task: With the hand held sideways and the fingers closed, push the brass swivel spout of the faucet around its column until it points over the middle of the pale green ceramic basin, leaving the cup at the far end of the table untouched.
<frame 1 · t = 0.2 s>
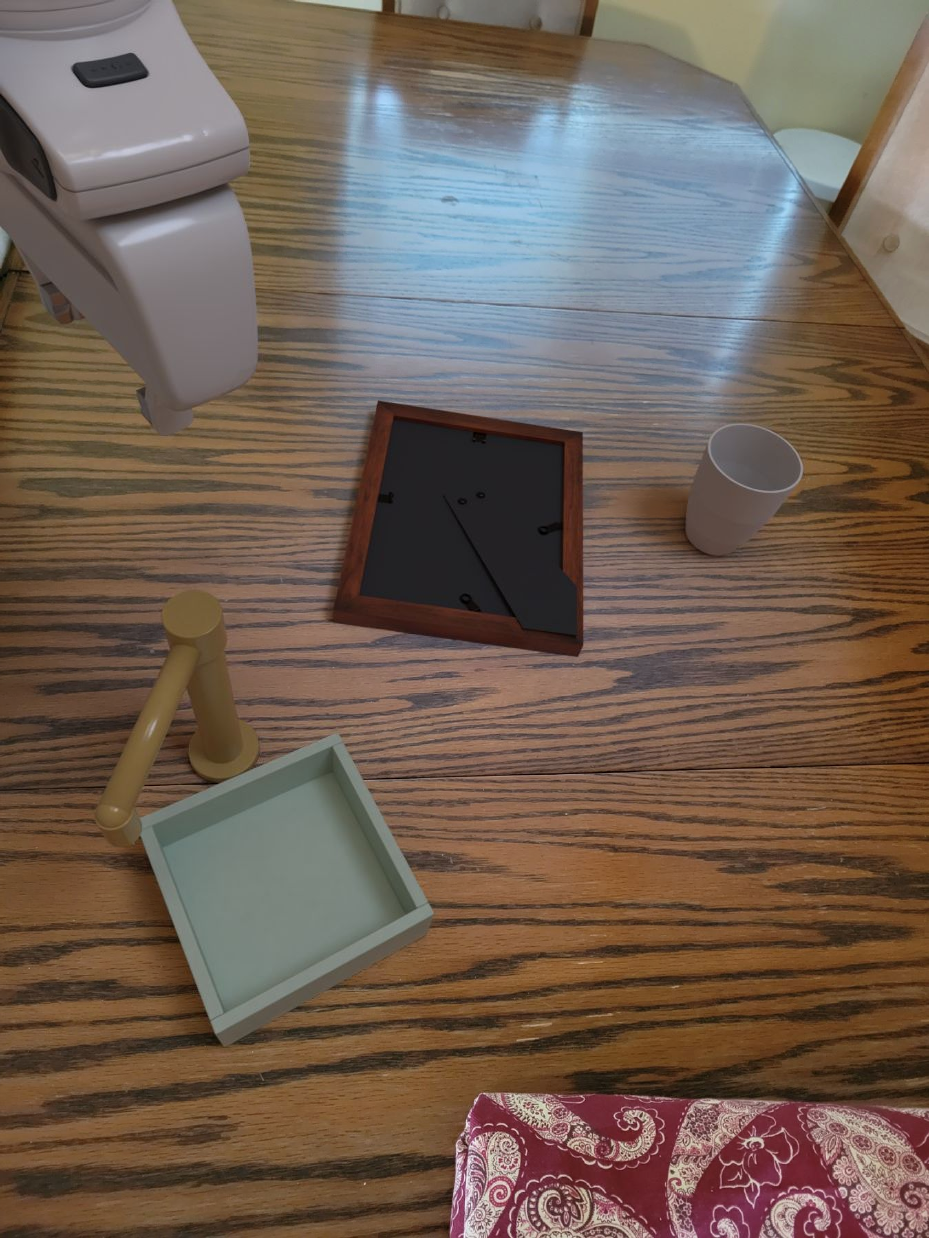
hand: (116, 366, 40), 28 cm above the table, tool pointing down, fingers open, 8 cm apart
cup: (710, 536, 78), on the table
spout: (161, 711, 44), point 15 cm above the table, hinge at -40.0°
faucet base: (224, 751, 59), on the table
picture frame: (468, 526, 75), on the table
sink: (286, 889, 54), on the table
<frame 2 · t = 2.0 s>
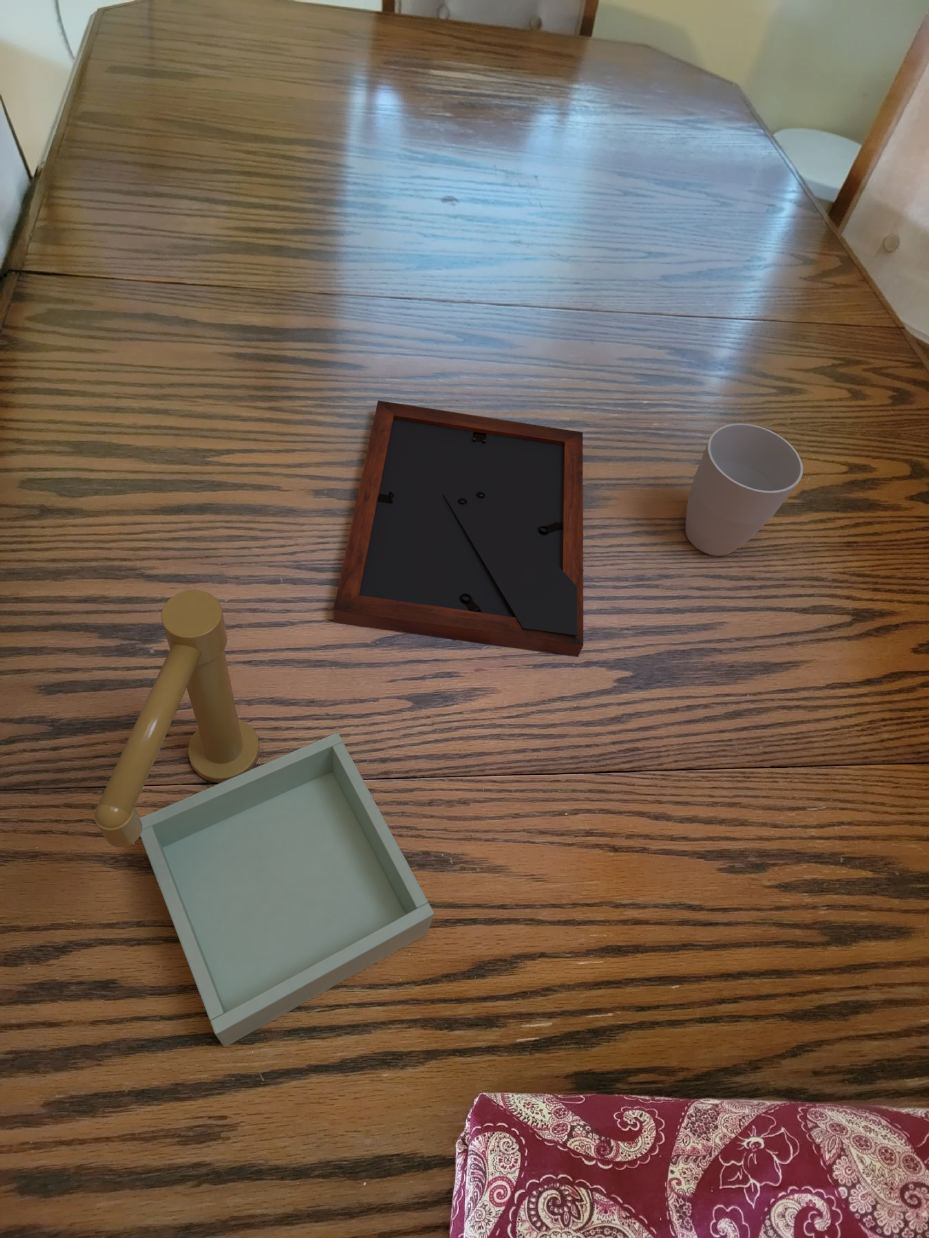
nothing on the table moved.
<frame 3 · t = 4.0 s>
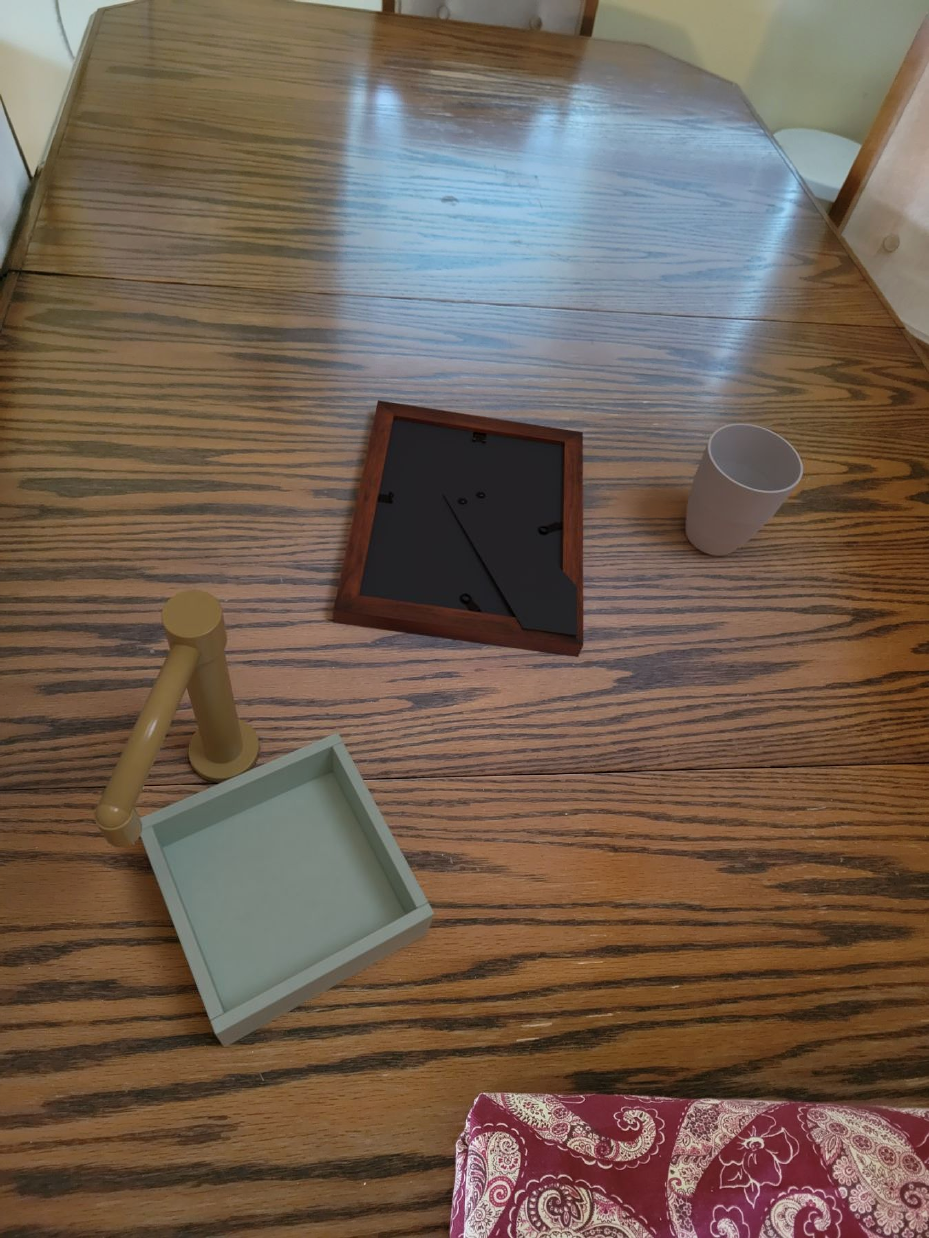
nothing on the table moved.
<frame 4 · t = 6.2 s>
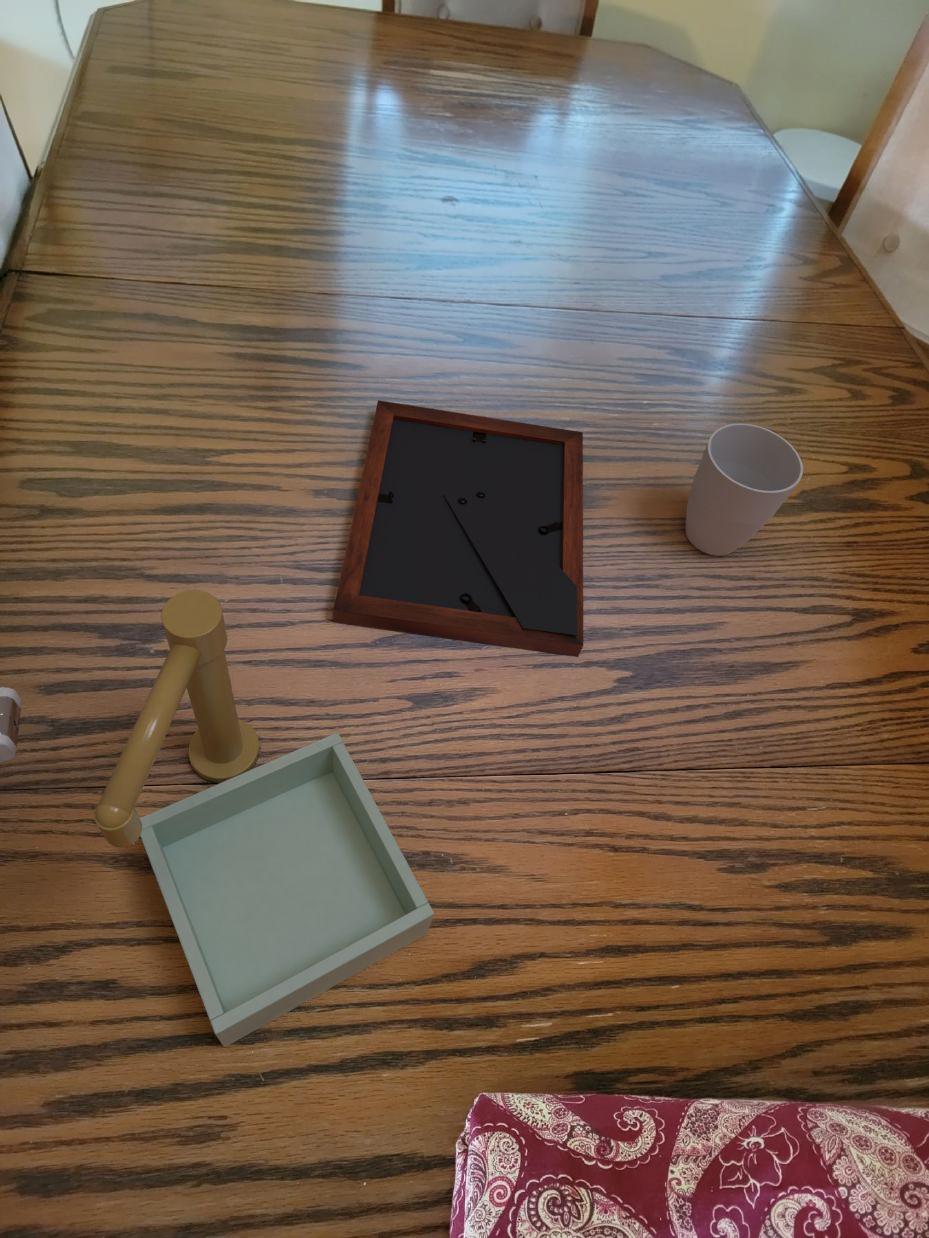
hand: (15, 722, 38), 19 cm above the table, tool horizontal, fingers closed
nothing on the table moved.
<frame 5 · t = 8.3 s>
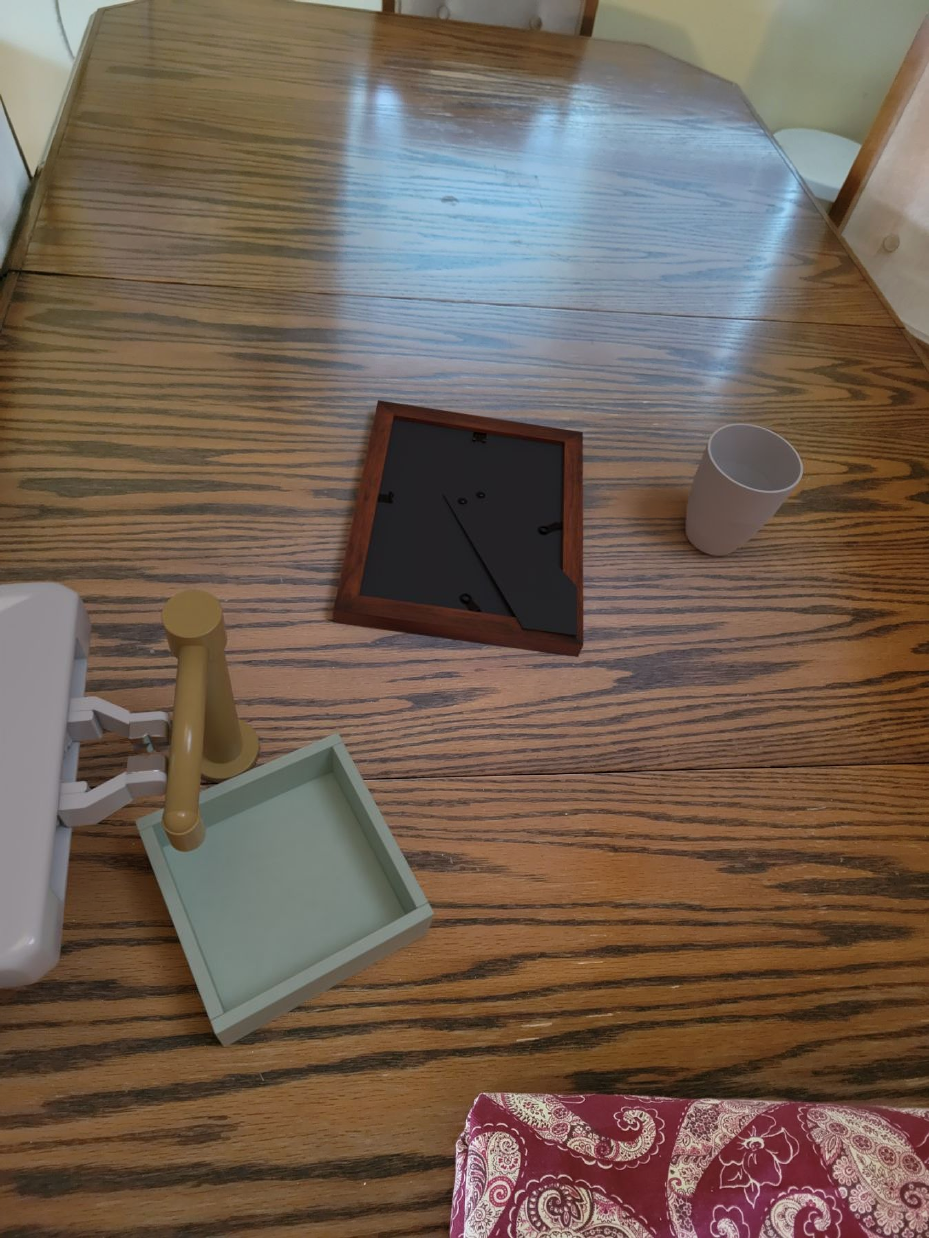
hand: (168, 751, 42), 16 cm above the table, tool horizontal, fingers closed, pressing on spout
spout: (190, 714, 44), point 15 cm above the table, hinge at -23.4°, touching gripper
everything else where it was.
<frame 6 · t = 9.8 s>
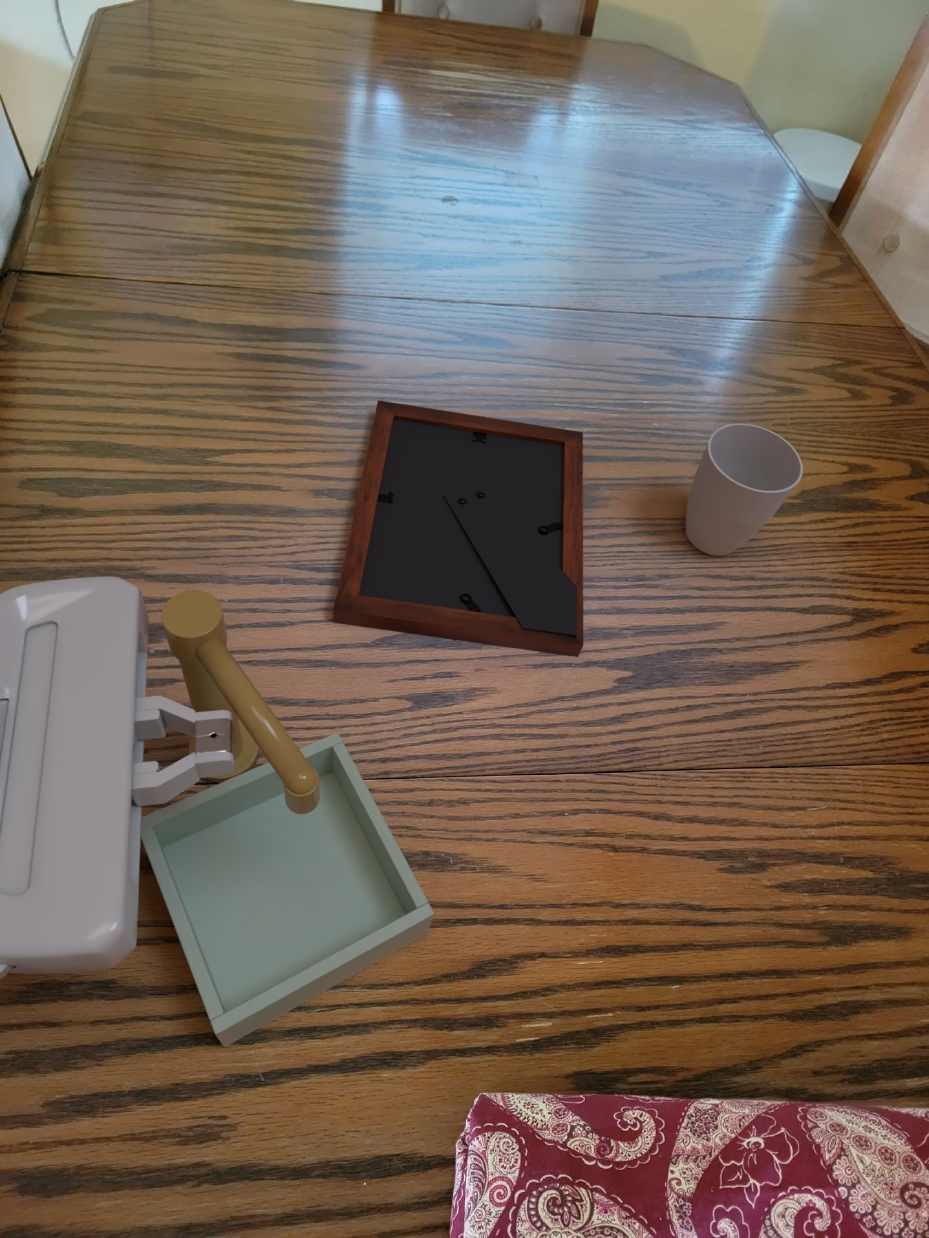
hand: (233, 741, 43), 15 cm above the table, tool horizontal, fingers closed
spout: (243, 699, 45), point 15 cm above the table, hinge at 8.0°
everything else where it was.
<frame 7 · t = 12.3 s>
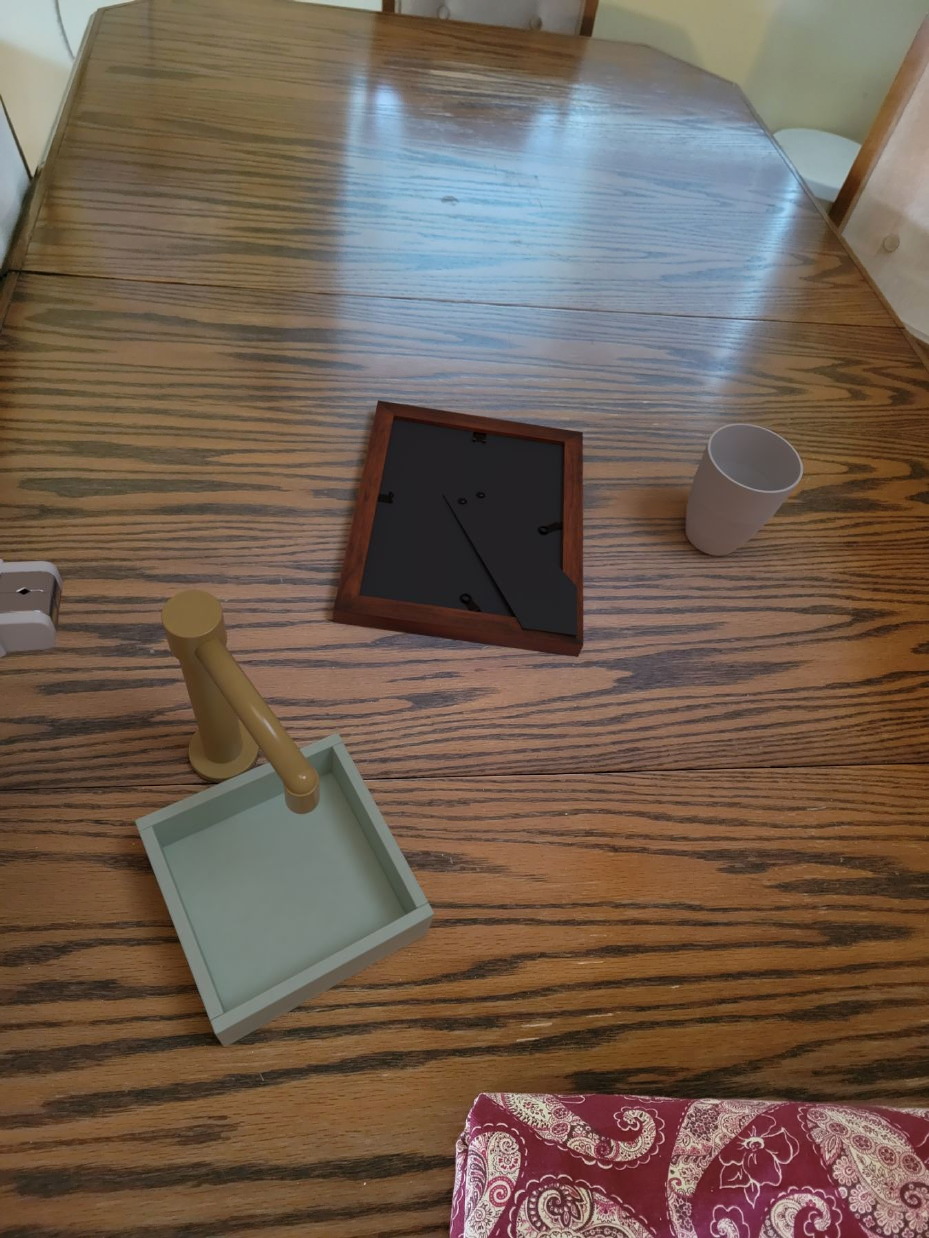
hand: (56, 604, 32), 28 cm above the table, tool horizontal, fingers closed
nothing on the table moved.
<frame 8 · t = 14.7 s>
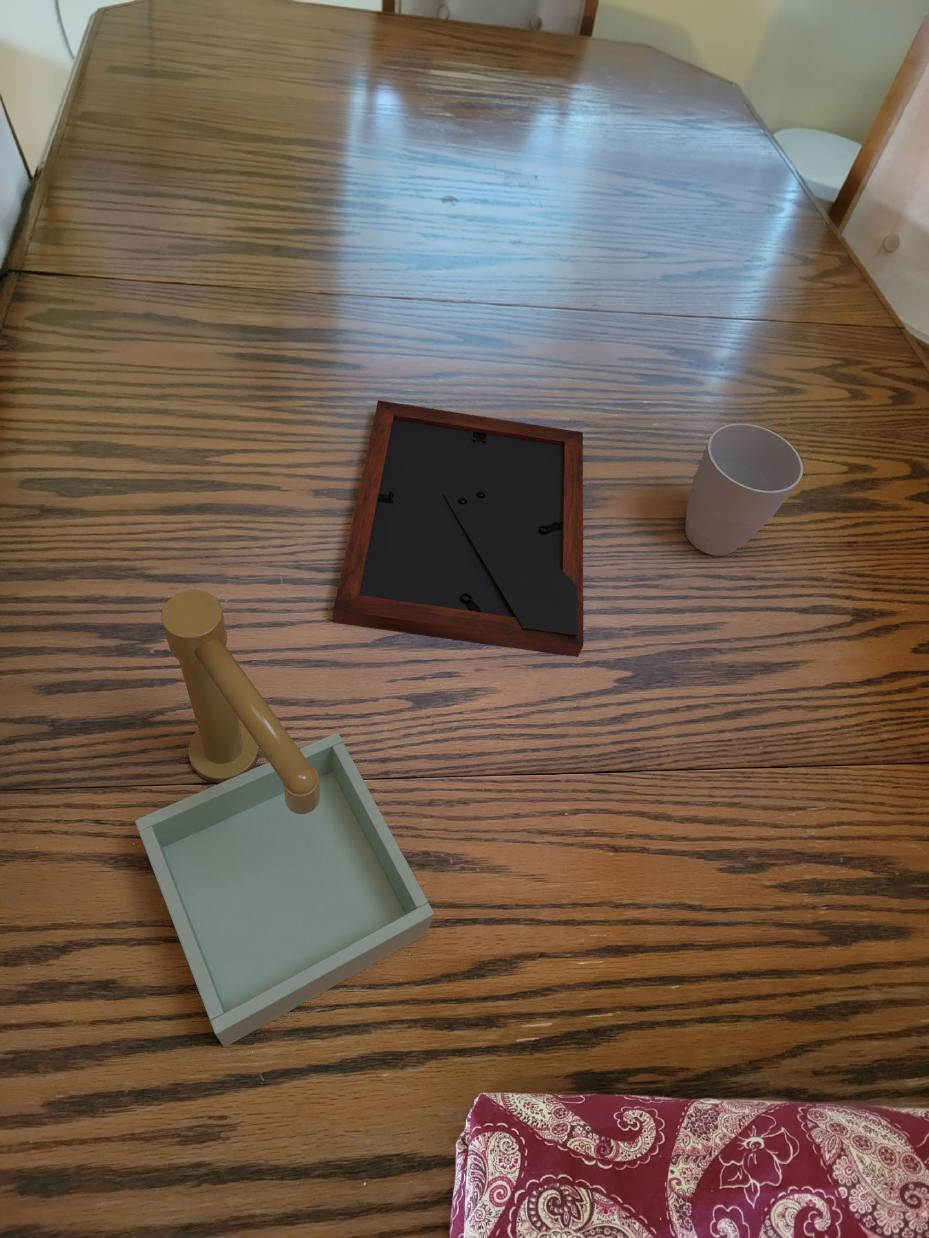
nothing on the table moved.
at the end: spout at +8° (first picture: -40°); cup moved 0.2 cm from its start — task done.
